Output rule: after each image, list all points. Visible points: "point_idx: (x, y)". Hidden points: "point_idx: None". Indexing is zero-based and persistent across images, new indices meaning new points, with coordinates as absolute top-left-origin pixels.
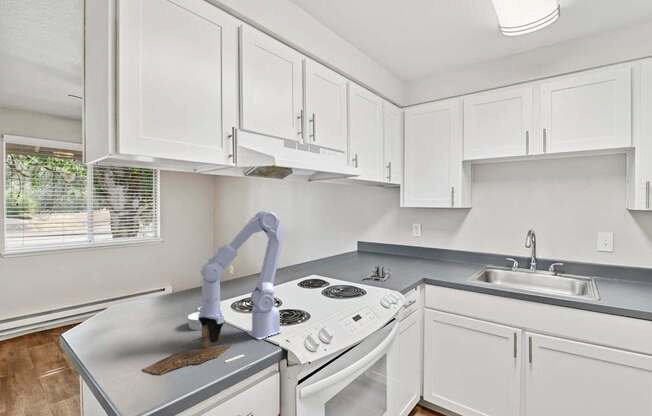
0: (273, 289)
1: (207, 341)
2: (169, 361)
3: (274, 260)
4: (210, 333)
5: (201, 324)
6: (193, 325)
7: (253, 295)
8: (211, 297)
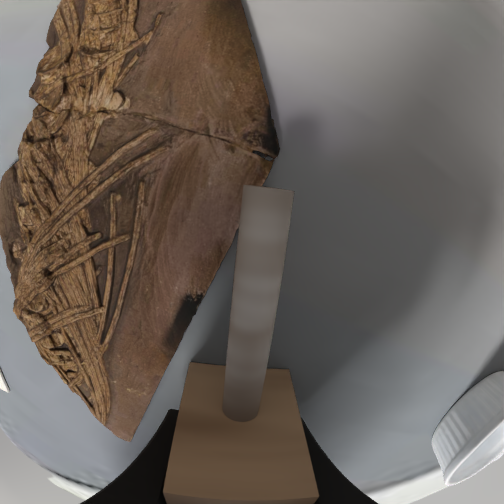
0: None
1: (183, 400)
2: (164, 39)
3: None
4: (139, 463)
5: (360, 494)
6: (490, 397)
7: None
8: None
